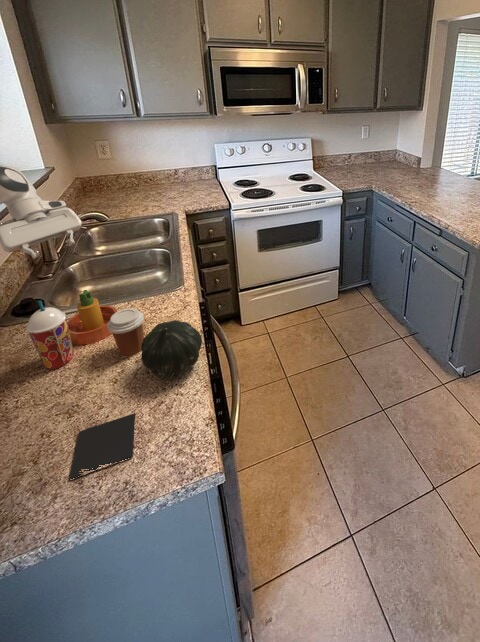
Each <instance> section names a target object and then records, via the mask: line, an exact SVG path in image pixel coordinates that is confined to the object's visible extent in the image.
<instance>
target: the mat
mask: <svg viewBox="0 0 480 642" xmlns="http://www.w3.org/2000/svg"><path fill="white" fill-rule="evenodd" d="M135 423H136V413H134V412H133V413H131V414H128V415H125V416H122V417H118V418H115V419H113V420H110V421H107V422H103V423H101V424H97V425H94V426H91V427H88V428H85V429H83V430H79V431H78V436H77V440H76V445H75V449H74V450H75V451H74V455H73V459H72V463H71V469H70V474H69V479H68V480H69V481H70V479H73V478H76V477H78V476H80V475H81V474H79V473H83V472H79V471H81V469H89V470H84V471H90V470H96V469H97V468H98V467H101V466H99V465H105V464H110V463H115V462H119V461H122V460H125V459H128V458H131V457H133V458H134V444H135V442H134V441H135V426H136V425H135ZM131 459H132V458H131ZM128 460H129V459H128ZM125 461H126V460H125ZM92 468H93V469H92Z"/></svg>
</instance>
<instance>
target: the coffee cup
mask: <svg viewBox="0 0 480 642" xmlns="http://www.w3.org/2000/svg"><path fill="white" fill-rule="evenodd" d="M144 321H145V315H144V313H143V312H142V311H141V310H138V309H137V308H134V307H127V308H123V309H120V310H117V312H116V313H115V314H113V315H112V317H111V318H110V321H109V322H108V324H107V329H108V331H109V332H111V333H112V334H111V335H112V337H113V340H114V342H115V345H116V347H117V349H118V352H119V355H121V357H124V358H129V357H133V356H136V355H138V354H140V353H142V350H141V345H142V342H143V340H144V338H145V334H144V327H143V326H144V325H143V322H144Z"/></svg>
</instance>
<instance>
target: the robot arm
mask: <svg viewBox="0 0 480 642" xmlns="http://www.w3.org/2000/svg"><path fill="white" fill-rule="evenodd" d="M2 204H4V205H5V206H6V208H7V211H8V213H9V215H10V216H11V218H12V219H7V220H5V221H3V222H0V246H1V248H2V250H3V251H4V252H6V253H13V252H16V251H19V250H21V251H22V252H23V253H25V254H27V255H30V256H31V258H32V259H33V260H34V259H37V258H40V256H41V254H40V252H39V251H38V249H35V250H33V249H32V248H30V247H31V246H34V245H37V244H41V243H43V242H46V241H50V240H52V239H55V238H59V237H62V236H66V237H69V238H67V239H66V244H67V245H68V247H71V246H75V245H76V241H75V240H74V232H77V231H79V230H80V229H81V227H82V226H83V225H82V223H83V222H82V220H81V218H80V217H79V216H78V215H77V213H76V212H75V211H74V210H73V209H71V208H70V207H67V204H66V202H65V201H64V200H45V199H44V200H43V199H42V197H40V196H39V195H38V193H37V189H36V188H35V186H34V185H33V184H32V182H31V181H30V180H29V178H28V177H27V176H26V175H25V174H24V173H23V172H22V171H20V169H18V168H16V167H13V166H0V205H2Z"/></svg>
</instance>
